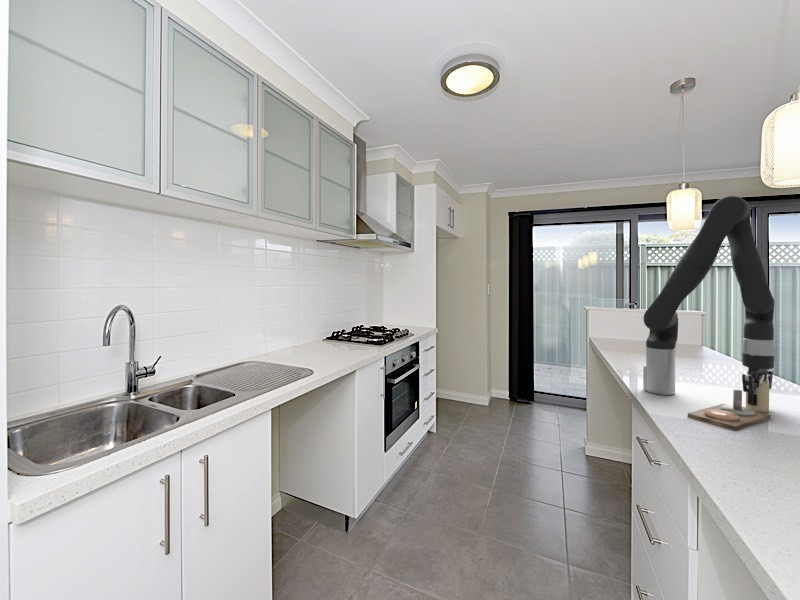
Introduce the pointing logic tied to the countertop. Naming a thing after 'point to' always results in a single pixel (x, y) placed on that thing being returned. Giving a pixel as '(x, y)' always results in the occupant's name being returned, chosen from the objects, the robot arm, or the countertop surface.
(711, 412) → the pad
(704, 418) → the board
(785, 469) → the countertop surface
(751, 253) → the robot arm
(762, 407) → the candle
